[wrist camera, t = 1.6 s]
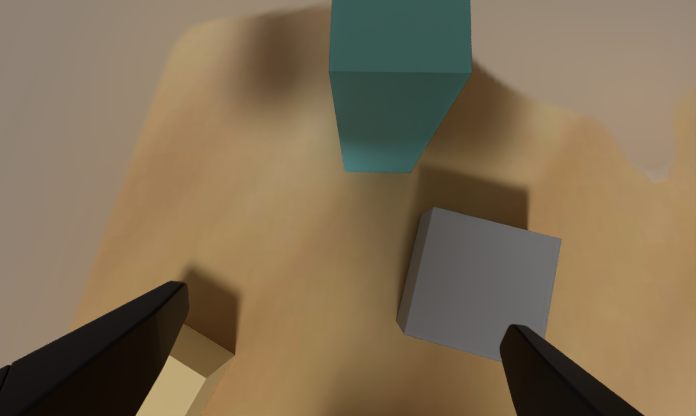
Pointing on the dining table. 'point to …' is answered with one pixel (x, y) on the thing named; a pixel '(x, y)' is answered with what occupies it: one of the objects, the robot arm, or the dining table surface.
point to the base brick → (476, 282)
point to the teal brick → (395, 76)
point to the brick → (187, 376)
